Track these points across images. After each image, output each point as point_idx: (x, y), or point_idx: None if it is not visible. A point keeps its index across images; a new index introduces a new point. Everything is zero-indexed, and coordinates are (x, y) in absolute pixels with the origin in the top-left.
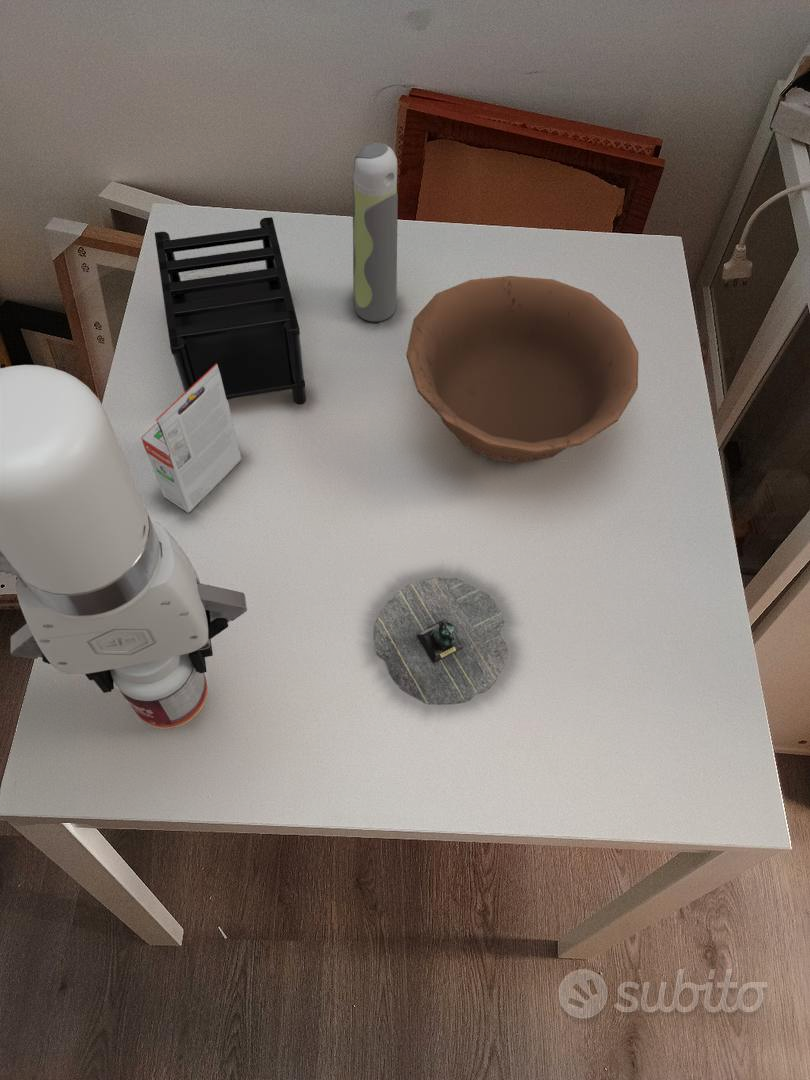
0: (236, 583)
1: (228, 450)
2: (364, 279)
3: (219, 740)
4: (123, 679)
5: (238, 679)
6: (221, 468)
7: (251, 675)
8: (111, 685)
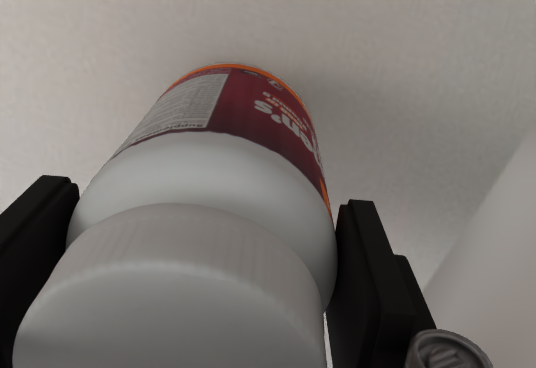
0: None
1: None
2: None
3: (163, 15)
4: (296, 238)
5: (113, 131)
6: None
7: (87, 131)
8: (344, 220)
